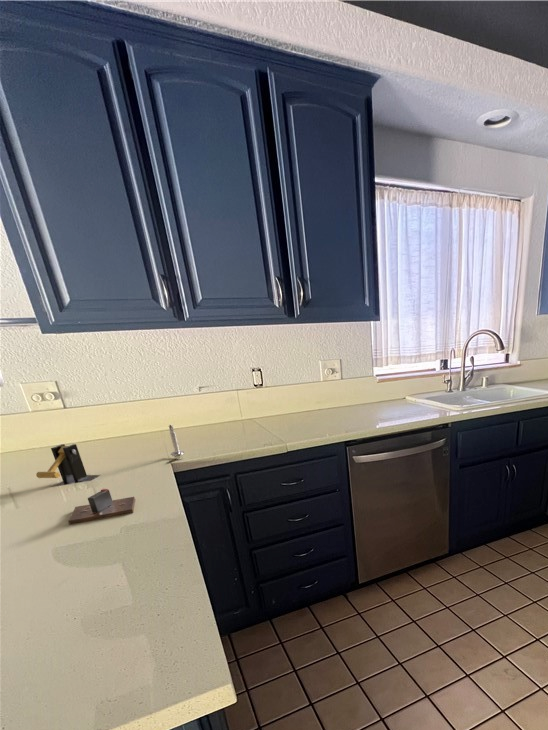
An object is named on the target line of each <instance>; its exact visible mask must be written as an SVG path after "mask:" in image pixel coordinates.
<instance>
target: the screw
mask: <svg viewBox="0 0 548 730" xmlns="http://www.w3.org/2000/svg"><path fill="white" fill-rule="evenodd" d="M168 429H169V435H170V439H171V443H172V447H173V452H171V453H170V456H171V457H174V460H176V461H178V460H183V459H184V458H183V455H185V451H183V450H180V447H179V444H178V439H177V435H176V432H175V430H174V425H172V424H169V425H168Z"/></svg>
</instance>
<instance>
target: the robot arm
mask: <svg viewBox="0 0 548 730" xmlns="http://www.w3.org/2000/svg"><path fill="white" fill-rule="evenodd" d="M4 383H5V380H4V377H3V374H2V371H1V370H0V388H2V387H3V386H4Z"/></svg>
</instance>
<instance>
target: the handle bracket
mask: <svg viewBox="0 0 548 730" xmlns="http://www.w3.org/2000/svg"><path fill="white" fill-rule="evenodd" d="M62 446H67V447H64V448H63V451H64V453H65V456H66V457H65V458H64V459H63V460H62V462H61V463H60V464H59V466H58V467H57V468H58V472H59V473H60V477H61V479H62V480H61V481H60V482H58V483H56V484H53V485H51V486H50V488H54V487H60V486H67V485H72V484H79V483H85V482H91V481H93V480H95V479H97V478H99V477H101V474H87V472H86V469H85V466H84V462H83V460H82V457H81V453H80V452H79V449H78V445H77V444H76V443H73V444H70V445H65V444H64V443H63V444H59V445H56V446H53V447H50V450H51V453H52V455H53V458H54V460H55V461H56V459H57V458H58V457H59V455H60V454H59V453H58V451H59V450H60V448H61V447H62ZM55 461H54V462H55Z"/></svg>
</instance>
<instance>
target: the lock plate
mask: <svg viewBox="0 0 548 730" xmlns="http://www.w3.org/2000/svg"><path fill="white" fill-rule="evenodd" d="M112 501H113V504H111V505H110V506H108V507H106V508H105V509H103V510H101V511H100V512H92V510H91V507H90V504H89V503H88V504H85V505H79V506H74V509H73V511H72V513H71V515H70V517H69V519H68V524H69V526H71V525H77V524H81V523H86V522H87V523H88V522H91V521H92V522H93V521H96V520H97V521H98V520H104V519H108V518H113V517H119V516H124V515H129V514H134V511H135V504H136V497H135V496H129V497H123V498H117V499H112Z"/></svg>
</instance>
